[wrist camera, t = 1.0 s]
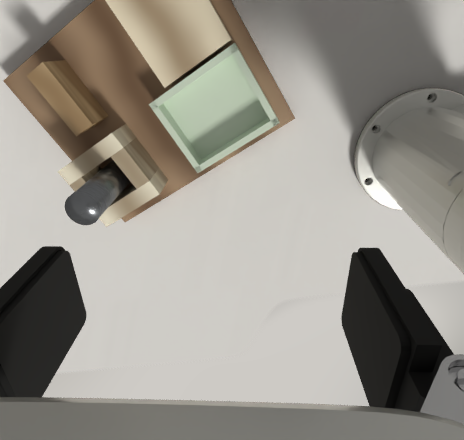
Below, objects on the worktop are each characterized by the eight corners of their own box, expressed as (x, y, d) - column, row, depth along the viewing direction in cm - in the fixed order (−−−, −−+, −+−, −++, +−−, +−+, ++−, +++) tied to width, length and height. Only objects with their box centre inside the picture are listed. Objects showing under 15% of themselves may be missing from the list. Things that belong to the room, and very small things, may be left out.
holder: (126, 123, 34) (111, 132, 31) (168, 179, 37) (159, 194, 33) (76, 159, 36) (57, 171, 33) (119, 210, 39) (106, 227, 35)
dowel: (124, 151, 36) (82, 187, 27) (141, 173, 37) (106, 214, 28) (104, 165, 36) (57, 204, 28) (121, 186, 37) (81, 230, 29)
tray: (235, 43, 31) (234, 42, 28) (277, 117, 33) (279, 122, 31) (155, 100, 33) (148, 104, 31) (200, 165, 36) (197, 173, 34)
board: (189, -75, 28) (177, -101, 23) (293, 115, 35) (300, 127, 30) (12, 79, 34) (-27, 85, 29) (129, 216, 41) (112, 239, 36)
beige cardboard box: (179, -55, 28) (172, -64, 25) (232, 39, 30) (231, 39, 28) (114, 1, 29) (103, -3, 27) (170, 84, 32) (164, 87, 30)
